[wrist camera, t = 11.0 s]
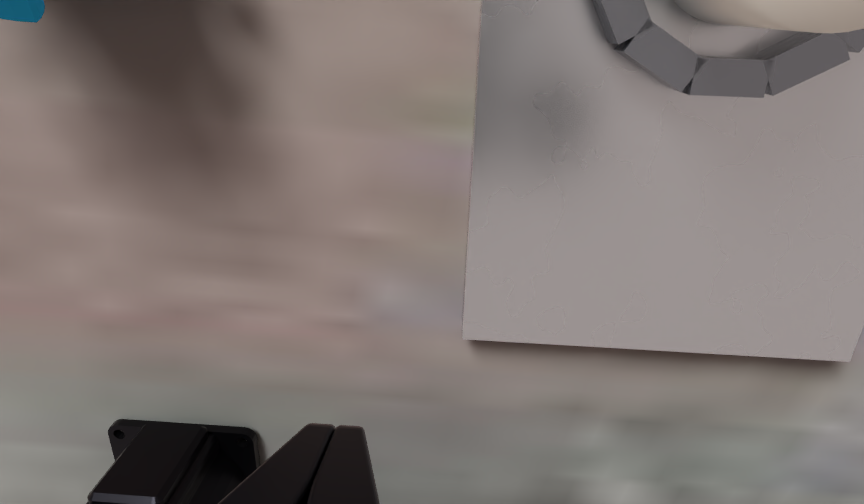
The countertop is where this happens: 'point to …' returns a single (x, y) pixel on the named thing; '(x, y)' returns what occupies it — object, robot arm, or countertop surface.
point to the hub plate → (665, 182)
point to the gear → (22, 10)
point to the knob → (780, 14)
